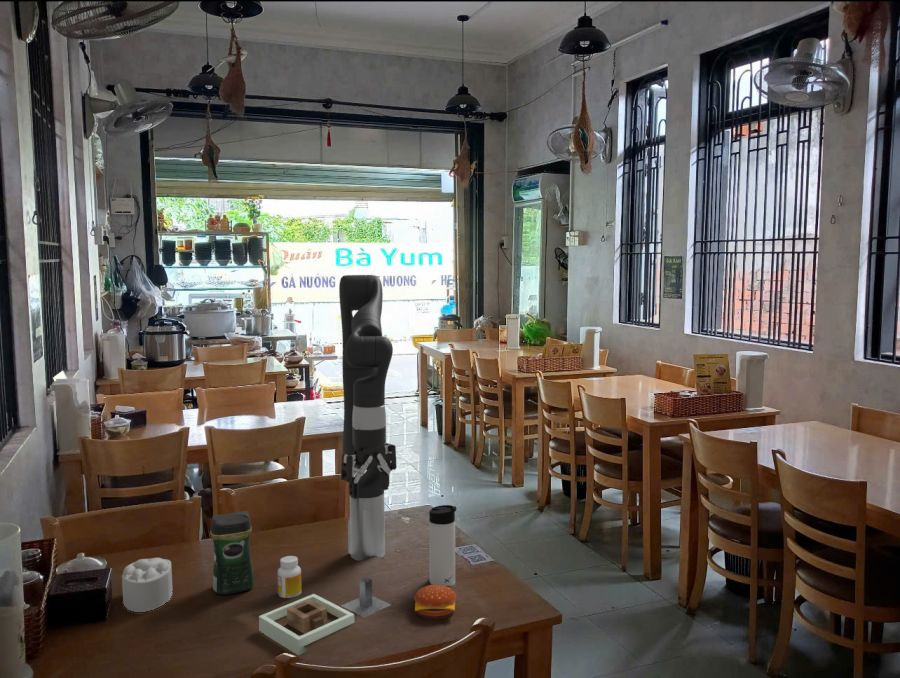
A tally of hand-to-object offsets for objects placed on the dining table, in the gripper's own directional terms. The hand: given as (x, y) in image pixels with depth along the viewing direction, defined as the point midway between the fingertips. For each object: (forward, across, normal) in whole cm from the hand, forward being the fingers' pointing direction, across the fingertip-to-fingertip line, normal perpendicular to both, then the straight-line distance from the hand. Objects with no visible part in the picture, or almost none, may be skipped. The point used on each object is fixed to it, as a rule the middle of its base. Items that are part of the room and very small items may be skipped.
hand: (369, 493), depth 164 cm
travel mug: (+26, -17, +7) cm, 32 cm away
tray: (+26, +18, +1) cm, 31 cm away
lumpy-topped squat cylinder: (+27, +36, -38) cm, 59 cm away
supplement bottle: (+26, +12, -15) cm, 33 cm away
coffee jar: (+27, +19, -29) cm, 44 cm away
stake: (+26, +4, +3) cm, 26 cm away
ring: (+25, +18, +1) cm, 31 cm away
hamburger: (+26, -6, +16) cm, 31 cm away
